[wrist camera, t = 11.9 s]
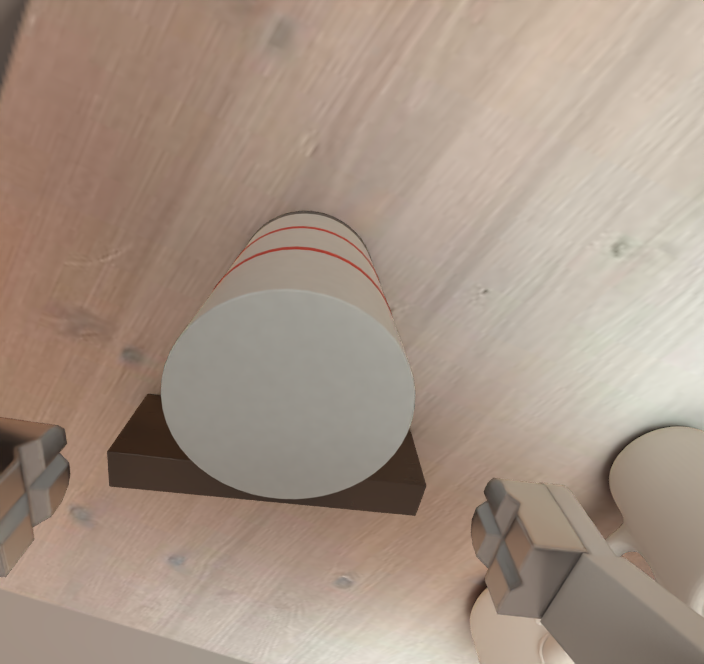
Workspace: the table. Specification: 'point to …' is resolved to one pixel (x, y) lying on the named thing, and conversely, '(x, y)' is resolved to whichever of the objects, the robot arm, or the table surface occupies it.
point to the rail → (186, 477)
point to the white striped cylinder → (292, 366)
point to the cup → (664, 508)
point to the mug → (511, 637)
